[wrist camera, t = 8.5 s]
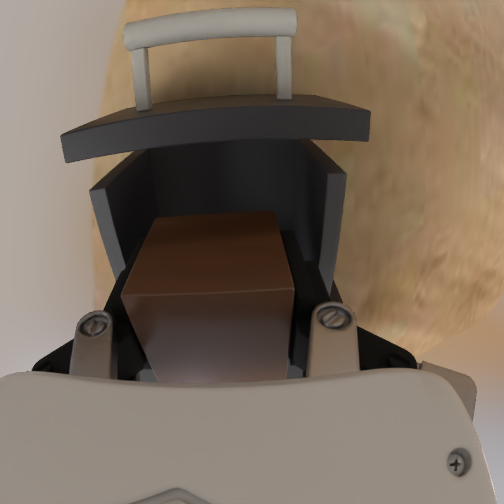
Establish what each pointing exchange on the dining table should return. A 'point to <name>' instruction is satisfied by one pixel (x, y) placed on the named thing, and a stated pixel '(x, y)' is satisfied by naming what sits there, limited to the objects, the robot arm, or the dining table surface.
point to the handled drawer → (220, 145)
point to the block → (213, 298)
